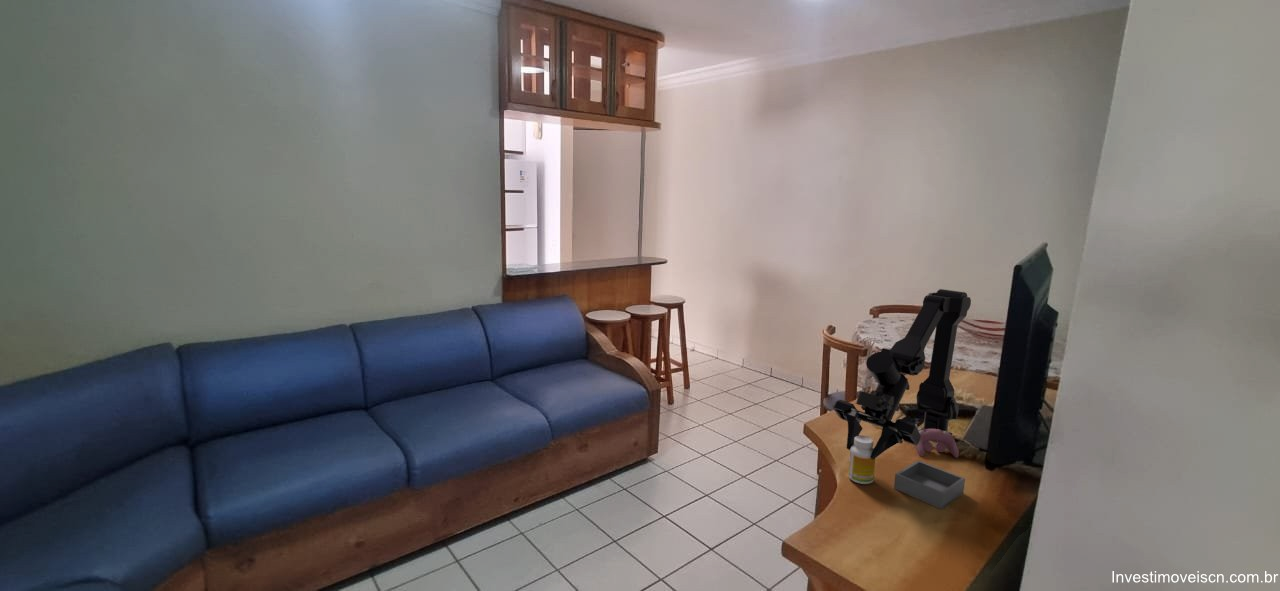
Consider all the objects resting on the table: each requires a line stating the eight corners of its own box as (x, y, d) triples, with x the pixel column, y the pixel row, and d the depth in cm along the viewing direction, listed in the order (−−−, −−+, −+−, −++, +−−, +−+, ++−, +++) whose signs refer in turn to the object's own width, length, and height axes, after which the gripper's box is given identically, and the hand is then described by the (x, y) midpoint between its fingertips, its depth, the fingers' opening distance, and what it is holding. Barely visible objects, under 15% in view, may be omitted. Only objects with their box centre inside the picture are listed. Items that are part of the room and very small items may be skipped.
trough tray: (916, 474, 126) (918, 460, 126) (963, 493, 118) (965, 478, 118) (893, 488, 120) (895, 473, 120) (941, 509, 112) (943, 494, 112)
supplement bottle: (878, 483, 122) (882, 443, 120) (857, 486, 121) (860, 445, 119) (864, 471, 127) (867, 432, 125) (843, 473, 126) (846, 435, 124)
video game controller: (952, 458, 137) (949, 429, 139) (961, 458, 133) (958, 429, 135) (912, 456, 138) (909, 428, 140) (919, 456, 134) (916, 427, 136)
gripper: (839, 367, 129) (810, 423, 124) (919, 389, 114) (889, 453, 110) (854, 390, 135) (827, 444, 130) (932, 414, 121) (905, 476, 116)
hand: (859, 453), depth 122 cm, fingers closed on supplement bottle, 5 cm apart
